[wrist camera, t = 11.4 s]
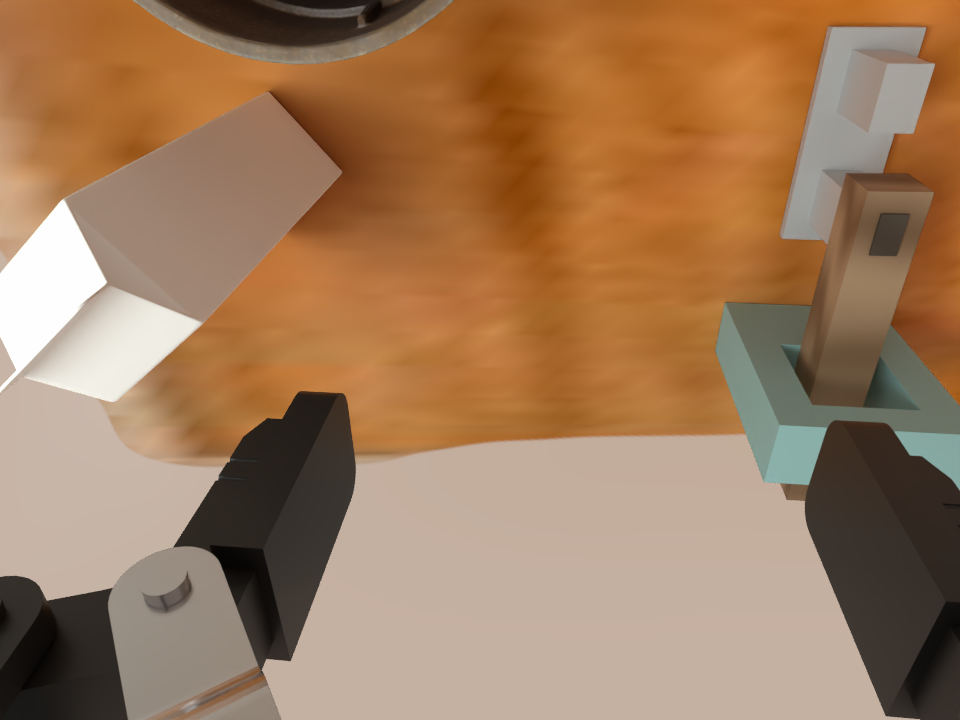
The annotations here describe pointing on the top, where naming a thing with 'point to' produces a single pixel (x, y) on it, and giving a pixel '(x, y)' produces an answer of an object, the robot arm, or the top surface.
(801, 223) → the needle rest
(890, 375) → the teal rectangular frame
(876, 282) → the needle
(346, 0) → the plant pot
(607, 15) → the top surface
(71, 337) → the milk
